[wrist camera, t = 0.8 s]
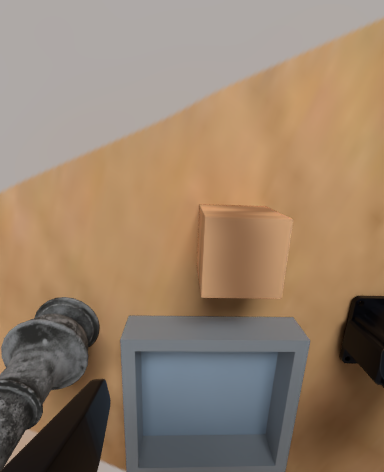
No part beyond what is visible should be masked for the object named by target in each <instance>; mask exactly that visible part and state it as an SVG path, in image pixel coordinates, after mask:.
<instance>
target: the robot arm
mask: <svg viewBox="0 0 384 472" xmlns="http://www.w3.org/2000/svg"><path fill="white" fill-rule="evenodd" d="M360 301H361V302H360ZM359 302H360V303H359ZM358 303H359V304H358ZM340 359H341V360H342V361H343V362H344V363H358V364H359V365H360V366H361V367H362V368H363V370H364V371H365V372H366V373H367V374H368V375H369V376H370V377H371V379H372V380H373V381H374V382H375V383H376V384H377V385H382V386H383V388H384V296H356V297H355V298H354V299H353V300H352V304H351V309H350V313H349V317H348V321H347V326H346V330H345V334H344V339H343V343H342V347H341V352H340ZM109 410H110V395H109V391H108V387H107V383H106V381H105V379H94V380H91V381H90V382H89V383H88V384H87V385H86V386H85V387H84V388H83V389H82V390H81V391H80V392H79V393H78V394H77V395H76V396H75V397H74V398H73V399H72V400H71V401H70V402H69V403H68V404H67V405H66V406H65V407H64V408H63V409H62V410H61V411H60V412H59V413H58V414H57V415H56V416H55V417H54V418H53V419H52V420H51V421H50V422H49V423H48V424H47V425H46V426H45V427H44V428H43V429H42V430H41V431H40V432H39V433H38V434H37V435H36V436H35V437H34V438H33V439H32V440H31V441H30V442H29V443H28V444H27V445H26V446H25V447H24V448H23V449H22V450H21V451H20V452H19V453H18V454H17V455H16V456H15V457H14V458H13V459H12V460H11V461H10V462H9V463H8V464H7V465H6V466H5V467H4V468H3V469H2V470H1V471H0V472H97V470H98V466H99V462H100V457H101V452H102V447H103V442H104V436H105V431H106V426H107V420H108V415H109Z"/></svg>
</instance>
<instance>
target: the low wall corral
mask: <svg viewBox="0 0 384 472" xmlns="http://www.w3.org/2000/svg"><path fill="white" fill-rule="evenodd" d="M120 342H121V363H122V384H123V405H124V426H125V447H126V468H127V472H285V470H286V465H287V460H288V455H289V449H290V444H291V439H292V434H293V428H294V423H295V418H296V413H297V407H298V402H299V397H300V392H301V387H302V381H303V376H304V371H305V366H306V360H307V355H308V350H309V345H310V340H309V338H308V337H307V336H306V334H305V333H304V331H303V330H302V329H301V327H300V326H299V325H298V323H297V322H296V321H295V319H294V318H293V317H215V316H129V317H128V320H127V322H126V325H125V328H124V331H123V334H122V337H121V339H120Z"/></svg>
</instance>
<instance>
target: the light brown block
mask: <svg viewBox="0 0 384 472" xmlns="http://www.w3.org/2000/svg"><path fill="white" fill-rule="evenodd" d="M292 225H293V219H291V218H289V217H287V216H285V215H283V214H281V213H279V212H277V211H274V210H272V209H270V208H268V207H266V206H241V205H207V204H200V205H199V228H198V251H197V272H198V279H199V286H200V293H201V298H264V299H282V294H283V287H284V280H285V273H286V266H287V260H288V253H289V246H290V239H291V232H292Z"/></svg>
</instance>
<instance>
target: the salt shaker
mask: <svg viewBox="0 0 384 472" xmlns="http://www.w3.org/2000/svg"><path fill="white" fill-rule="evenodd" d="M98 334H99V321H98V318H97V316H96V314H95V313H94V311H93V310H92V309H91V308H90V307H89V306H88V305H86V304H85V303H83V302H82V301H79V300H76V299H73V298H66V297H62V298H55V299H52V300H49V301H47V302H46V303H45V304H43V305H42V306H41V307H40V308H39V310H38V311H37V312H36V315H35V318H34V319H31V320H28V321H26V322H23V323H20V324H18V325H17V326H16V327H14V328H13V329H11V330H10V331H9V333H8V334H7V335H6V337H5V338H4V341H3V344H2V347H1V348H2V359H3V361H4V364H5V366H6V369H5V370H4V371H3V372H2V373H1V374H0V471H1V470H2V469H3V468H4V466H5V464H6V462H7V461H8V459H9V457H10V456H11V454H12V452H13V450H14V449H15V447H16V446H17V444H18V442H19V441H20V439H21V437H22V435H23V434H24V432H25V430H27V429H30V428H31V427H33V426H34V425H36V424H37V422H38V421H39V420H40V418H41V416H42V413H43V405H42V404H43V403H44V401H45V399H46V397H47V396H48V394H49V392H50V391H51V390H56V389H62V388H64V387H67V386H70V385H72V384H73V383H75V382H76V381H78V380H79V379H80V377H81V376H82V375H83V374H84V372H85V370H86V367H87V365H88V347H90V346H91V345H92V344H93V343H94V342H95V340H96V339H97V336H98Z"/></svg>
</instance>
